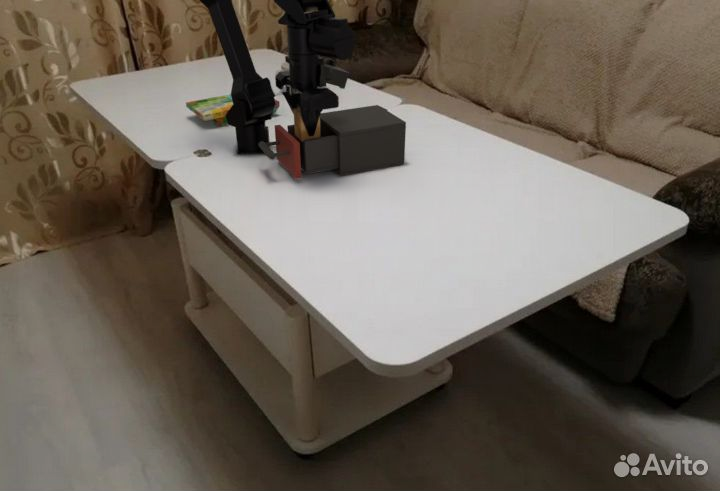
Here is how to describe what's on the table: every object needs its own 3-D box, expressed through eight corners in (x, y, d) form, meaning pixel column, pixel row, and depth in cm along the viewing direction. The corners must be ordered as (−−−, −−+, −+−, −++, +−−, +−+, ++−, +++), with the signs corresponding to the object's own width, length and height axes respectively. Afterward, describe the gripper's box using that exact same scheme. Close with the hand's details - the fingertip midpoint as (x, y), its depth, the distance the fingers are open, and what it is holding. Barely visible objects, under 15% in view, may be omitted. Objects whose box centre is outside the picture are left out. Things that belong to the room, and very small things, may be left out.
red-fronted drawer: (274, 183, 114) (271, 147, 110) (256, 162, 122) (253, 128, 119) (358, 167, 120) (358, 133, 116) (336, 148, 129) (335, 116, 125)
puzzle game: (278, 97, 148) (201, 111, 139) (280, 116, 151) (204, 130, 141) (259, 86, 157) (185, 99, 147) (260, 104, 159) (188, 117, 150)
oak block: (320, 138, 118) (319, 111, 115) (301, 141, 116) (300, 114, 113) (313, 132, 121) (312, 105, 118) (294, 135, 119) (293, 108, 116)
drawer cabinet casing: (340, 176, 118) (339, 132, 114) (316, 154, 128) (315, 113, 124) (404, 164, 124) (406, 122, 119) (377, 144, 134) (377, 104, 129)
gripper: (364, 58, 106) (364, 141, 114) (324, 38, 120) (326, 113, 128) (306, 64, 102) (309, 150, 109) (272, 43, 116) (277, 120, 124)
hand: (307, 132), depth 118 cm, fingers closed on oak block, 4 cm apart
